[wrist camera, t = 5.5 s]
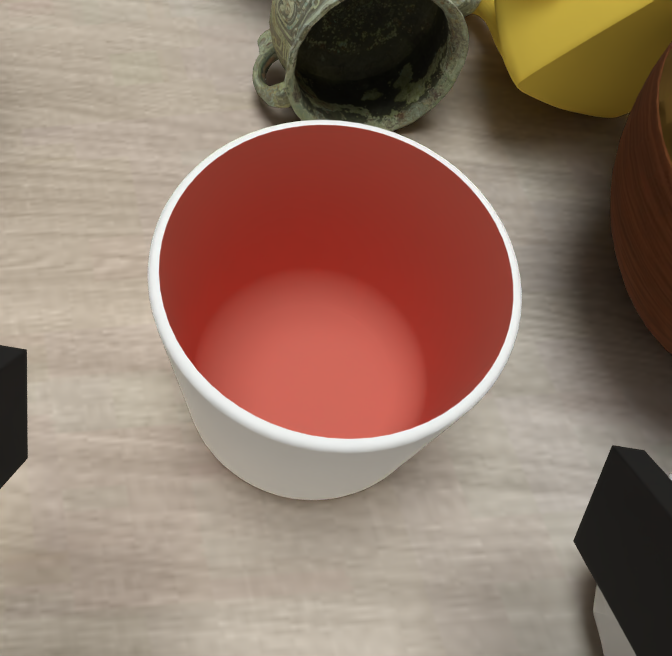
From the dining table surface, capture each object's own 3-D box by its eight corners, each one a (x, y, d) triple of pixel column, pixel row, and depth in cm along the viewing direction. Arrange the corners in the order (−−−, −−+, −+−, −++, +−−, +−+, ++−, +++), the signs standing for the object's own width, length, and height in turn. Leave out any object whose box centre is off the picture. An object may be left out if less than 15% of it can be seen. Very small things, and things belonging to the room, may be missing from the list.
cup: (463, 352, 26) (576, 227, 17) (351, 557, 22) (419, 538, 13) (276, 240, 27) (287, 66, 18) (136, 415, 23) (58, 305, 14)
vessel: (284, 89, 34) (303, 175, 32) (192, -33, 26) (209, 69, 24) (481, -14, 30) (519, 75, 28) (441, -190, 23) (490, -87, 20)
